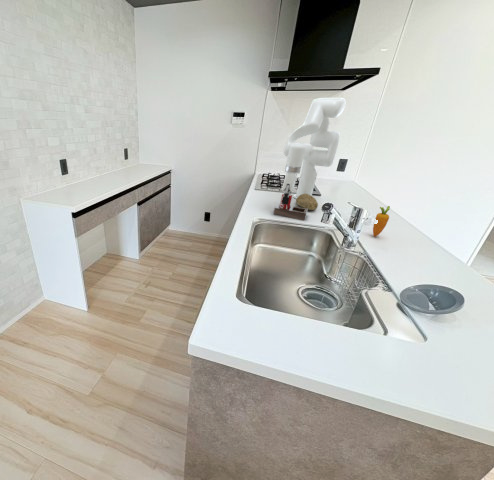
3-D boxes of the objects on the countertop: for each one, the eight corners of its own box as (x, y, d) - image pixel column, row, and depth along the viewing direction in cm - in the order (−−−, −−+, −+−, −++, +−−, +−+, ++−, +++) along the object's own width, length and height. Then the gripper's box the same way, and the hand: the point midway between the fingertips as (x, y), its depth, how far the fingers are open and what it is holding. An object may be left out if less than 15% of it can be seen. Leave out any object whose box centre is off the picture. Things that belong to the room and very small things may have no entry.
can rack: (276, 210, 152) (278, 203, 151) (306, 215, 145) (308, 208, 143) (273, 214, 145) (274, 207, 144) (304, 220, 138) (306, 213, 136)
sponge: (296, 202, 170) (291, 204, 153) (301, 191, 167) (297, 191, 150) (316, 210, 164) (313, 213, 148) (322, 198, 161) (320, 200, 145)
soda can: (288, 215, 144) (293, 194, 139) (279, 214, 145) (283, 194, 140) (287, 212, 149) (291, 192, 143) (277, 211, 150) (281, 191, 144)
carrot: (371, 238, 120) (383, 207, 113) (366, 233, 124) (378, 203, 117) (383, 239, 119) (396, 208, 112) (378, 235, 123) (390, 204, 116)
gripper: (288, 166, 144) (281, 197, 152) (282, 171, 131) (275, 205, 139) (302, 167, 141) (295, 199, 149) (298, 173, 128) (290, 208, 136)
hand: (285, 202), depth 144 cm, fingers closed on soda can, 5 cm apart
